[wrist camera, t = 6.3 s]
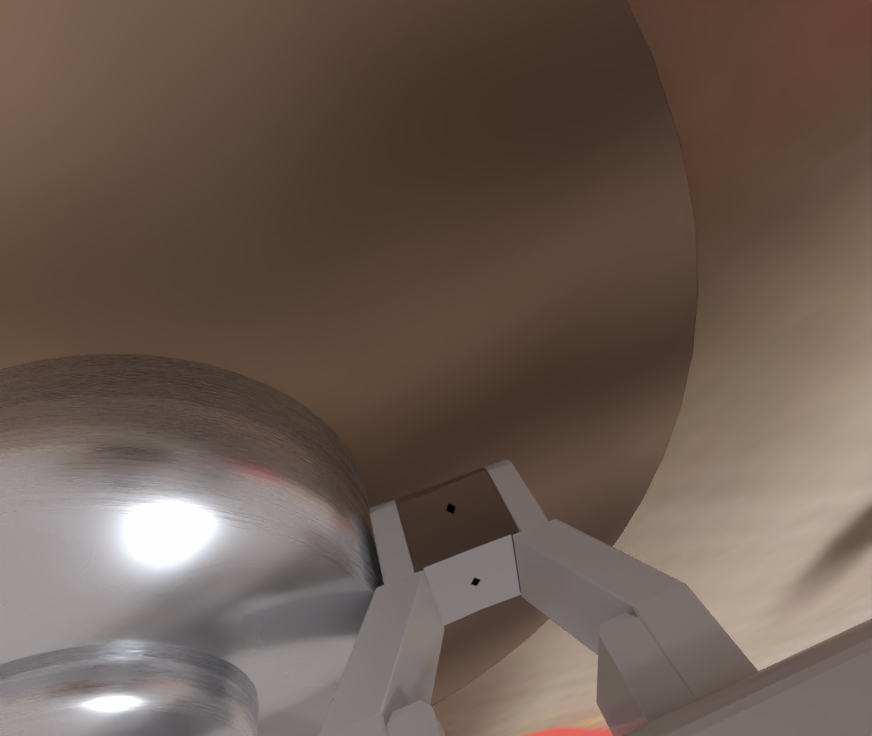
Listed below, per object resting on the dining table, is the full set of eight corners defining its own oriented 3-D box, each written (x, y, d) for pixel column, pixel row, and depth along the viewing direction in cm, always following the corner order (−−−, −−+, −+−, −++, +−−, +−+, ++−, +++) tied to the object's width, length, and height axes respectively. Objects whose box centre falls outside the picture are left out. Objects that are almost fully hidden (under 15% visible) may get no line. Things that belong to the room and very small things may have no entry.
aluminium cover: (-336, 471, 6) (-1145, 960, 3) (279, 284, 8) (274, 457, 4) (71, 713, 11) (-28, 1002, 8) (407, 578, 13) (458, 776, 9)
